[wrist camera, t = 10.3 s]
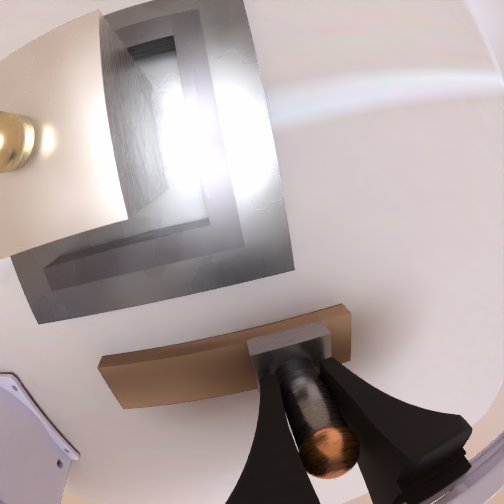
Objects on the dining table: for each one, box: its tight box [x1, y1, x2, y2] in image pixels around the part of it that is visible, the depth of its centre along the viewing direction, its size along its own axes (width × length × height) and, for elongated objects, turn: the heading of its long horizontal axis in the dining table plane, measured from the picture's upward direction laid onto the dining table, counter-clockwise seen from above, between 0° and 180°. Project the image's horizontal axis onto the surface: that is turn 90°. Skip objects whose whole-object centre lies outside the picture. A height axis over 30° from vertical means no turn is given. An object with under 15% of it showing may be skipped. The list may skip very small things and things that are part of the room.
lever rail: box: [98, 304, 351, 409], centre depth 14 cm, size 3×13×1 cm, turn 101°
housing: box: [0, 10, 168, 259], centre depth 6 cm, size 4×4×7 cm
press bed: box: [11, 0, 295, 324], centre depth 9 cm, size 13×13×2 cm
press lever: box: [246, 320, 360, 479], centre depth 10 cm, size 4×4×7 cm
